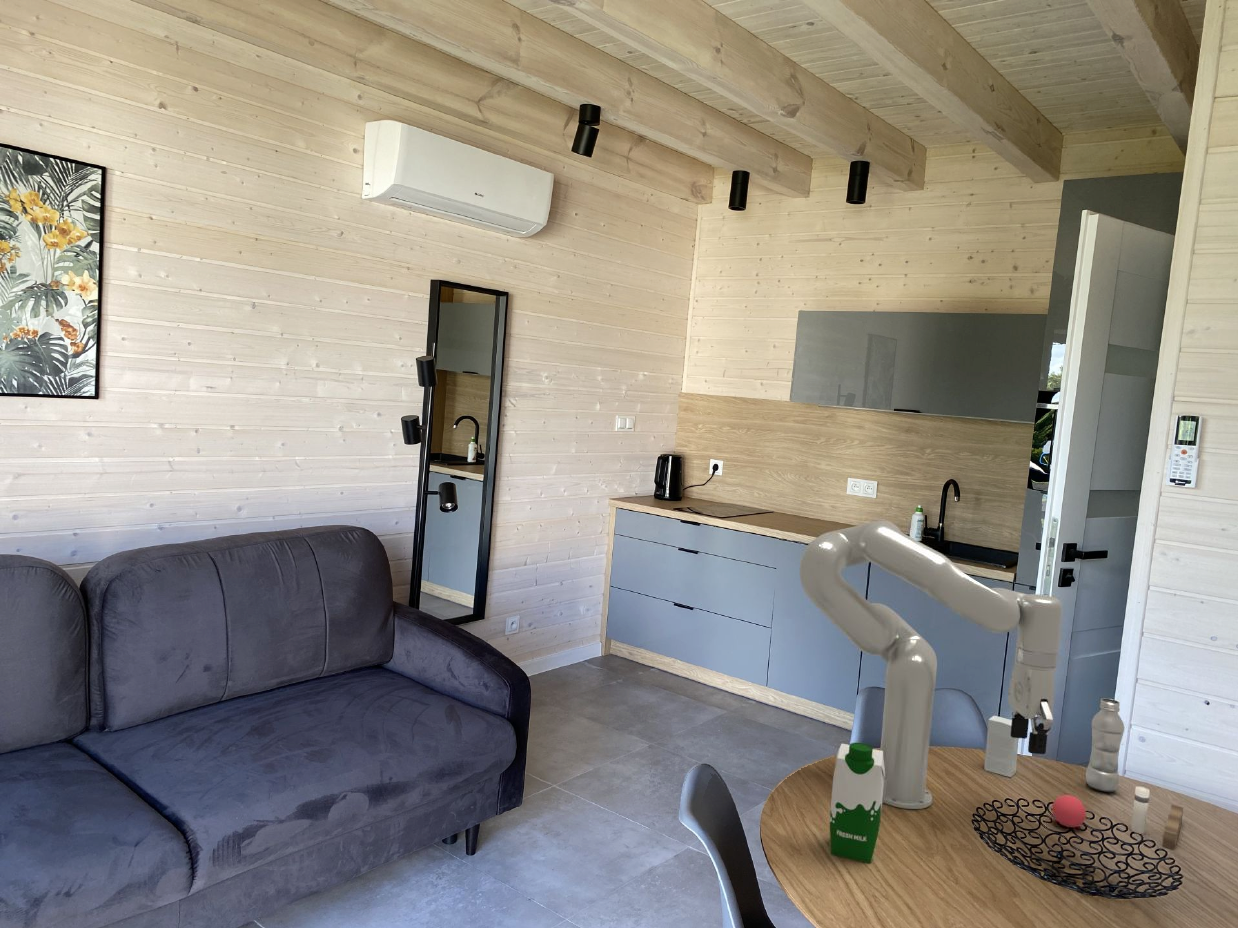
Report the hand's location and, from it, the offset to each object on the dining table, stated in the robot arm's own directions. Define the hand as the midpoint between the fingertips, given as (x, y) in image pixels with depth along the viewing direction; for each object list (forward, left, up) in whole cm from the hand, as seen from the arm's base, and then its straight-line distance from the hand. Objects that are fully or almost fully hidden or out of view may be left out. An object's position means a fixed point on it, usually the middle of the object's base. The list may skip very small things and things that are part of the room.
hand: (1027, 744), depth 177 cm
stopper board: (+30, 0, -16) cm, 34 cm away
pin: (+23, 0, -16) cm, 28 cm away
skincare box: (+6, +26, -16) cm, 31 cm away
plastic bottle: (+26, +20, -16) cm, 37 cm away
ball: (+9, 0, -13) cm, 16 cm away
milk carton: (-38, -17, -16) cm, 44 cm away
